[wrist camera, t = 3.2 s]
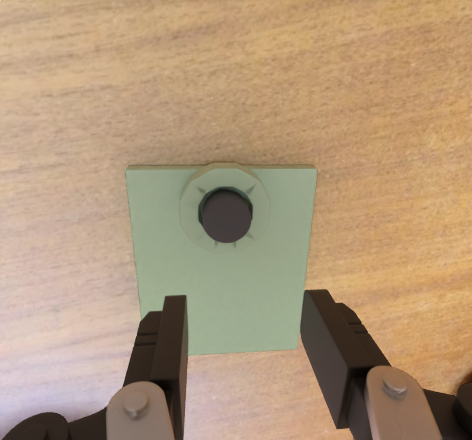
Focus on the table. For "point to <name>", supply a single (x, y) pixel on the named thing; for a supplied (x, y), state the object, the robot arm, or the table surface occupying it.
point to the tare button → (226, 216)
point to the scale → (224, 252)
